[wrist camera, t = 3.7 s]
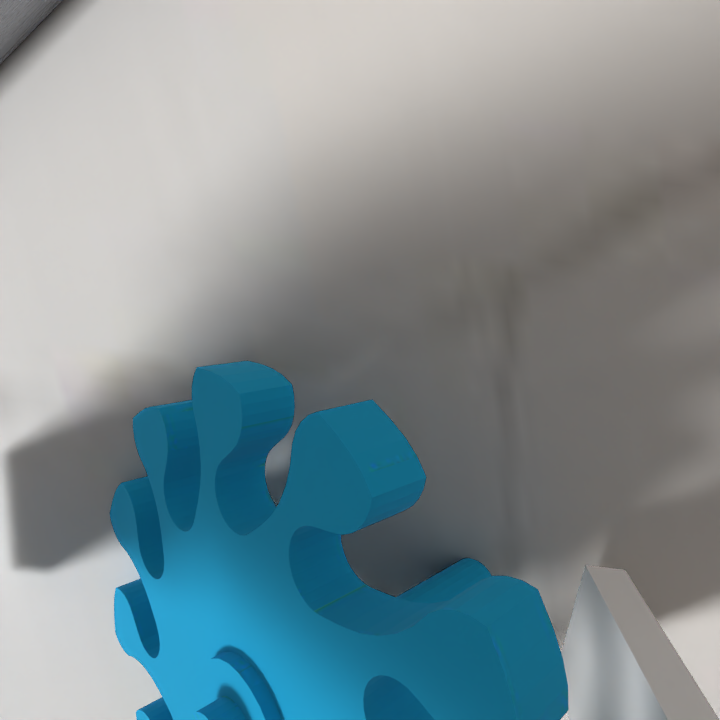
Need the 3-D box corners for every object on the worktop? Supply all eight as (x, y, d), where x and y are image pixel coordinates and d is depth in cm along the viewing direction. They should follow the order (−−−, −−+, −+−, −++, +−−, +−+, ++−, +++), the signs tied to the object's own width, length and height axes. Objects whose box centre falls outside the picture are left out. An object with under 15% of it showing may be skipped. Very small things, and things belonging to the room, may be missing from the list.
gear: (100, 246, 8) (962, 1144, 2) (384, 254, 12) (972, 597, 6) (61, 706, 13) (321, 1397, 7) (276, 604, 17) (558, 991, 11)
